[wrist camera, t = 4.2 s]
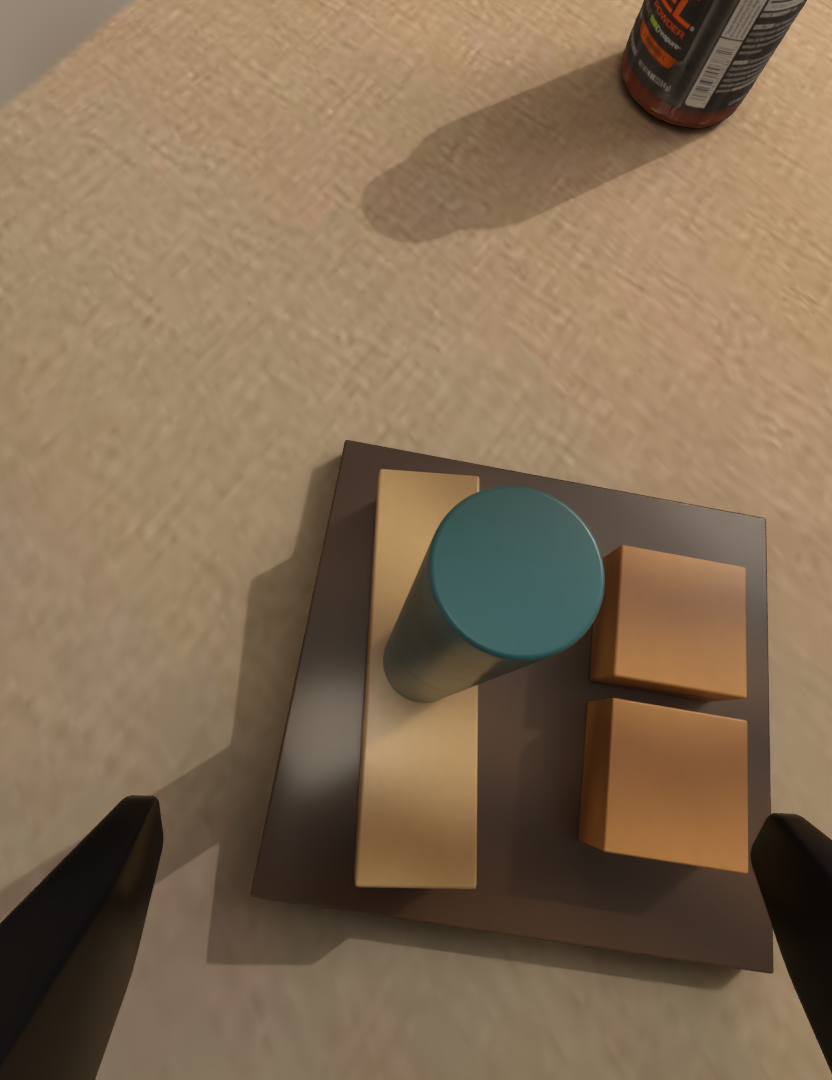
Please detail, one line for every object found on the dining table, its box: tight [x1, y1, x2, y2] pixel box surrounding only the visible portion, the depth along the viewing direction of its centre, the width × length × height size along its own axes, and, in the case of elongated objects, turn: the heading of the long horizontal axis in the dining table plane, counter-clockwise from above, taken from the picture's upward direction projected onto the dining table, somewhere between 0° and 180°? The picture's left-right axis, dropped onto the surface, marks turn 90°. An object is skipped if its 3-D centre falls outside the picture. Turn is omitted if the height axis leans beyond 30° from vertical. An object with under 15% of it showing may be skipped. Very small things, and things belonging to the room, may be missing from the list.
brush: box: [354, 469, 605, 889], centre depth 14 cm, size 11×3×12 cm, turn 178°
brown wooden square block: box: [578, 698, 748, 874], centre depth 18 cm, size 4×4×2 cm
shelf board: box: [250, 440, 773, 973], centre depth 20 cm, size 14×15×1 cm
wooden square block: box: [590, 545, 747, 702], centre depth 20 cm, size 4×4×2 cm
